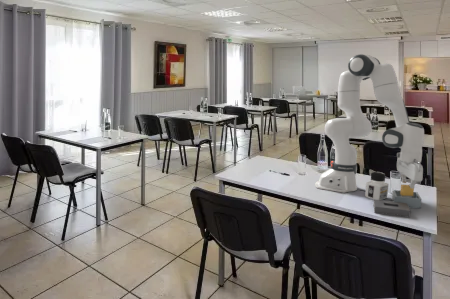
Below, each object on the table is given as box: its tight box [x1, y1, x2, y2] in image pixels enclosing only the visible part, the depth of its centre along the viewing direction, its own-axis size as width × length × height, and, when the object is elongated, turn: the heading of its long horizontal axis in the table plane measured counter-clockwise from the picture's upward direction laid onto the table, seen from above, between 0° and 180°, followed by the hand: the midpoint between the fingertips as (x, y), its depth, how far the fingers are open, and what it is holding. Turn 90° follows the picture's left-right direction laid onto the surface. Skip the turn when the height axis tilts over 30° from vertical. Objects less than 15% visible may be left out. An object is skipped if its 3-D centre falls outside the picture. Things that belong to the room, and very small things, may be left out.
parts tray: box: [391, 189, 423, 209], centre depth 164 cm, size 11×11×4 cm
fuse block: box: [372, 199, 411, 218], centre depth 154 cm, size 14×10×3 cm
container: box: [364, 171, 389, 201], centre depth 171 cm, size 8×8×13 cm
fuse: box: [400, 184, 415, 198], centre depth 164 cm, size 5×2×8 cm, turn 85°
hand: (407, 185), depth 163 cm, fingers open, 7 cm apart
